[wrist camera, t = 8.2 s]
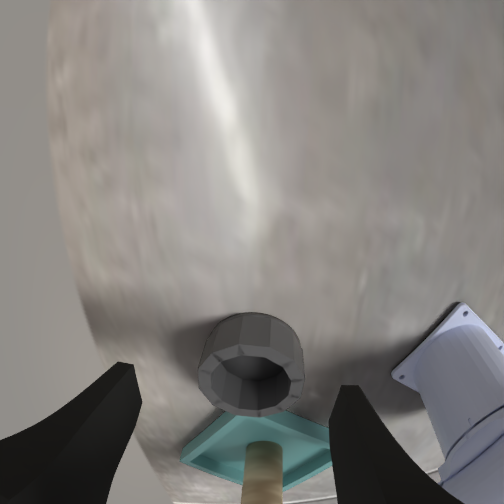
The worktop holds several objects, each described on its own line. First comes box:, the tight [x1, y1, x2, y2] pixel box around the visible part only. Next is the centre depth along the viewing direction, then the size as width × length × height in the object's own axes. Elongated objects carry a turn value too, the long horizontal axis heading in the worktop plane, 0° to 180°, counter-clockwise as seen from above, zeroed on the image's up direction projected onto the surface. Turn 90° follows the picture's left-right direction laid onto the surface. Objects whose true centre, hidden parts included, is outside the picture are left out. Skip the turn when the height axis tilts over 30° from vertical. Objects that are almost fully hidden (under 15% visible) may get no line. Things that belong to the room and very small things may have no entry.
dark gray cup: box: [198, 312, 305, 418], centre depth 21 cm, size 7×7×4 cm
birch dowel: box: [241, 441, 283, 504], centre depth 23 cm, size 4×4×8 cm
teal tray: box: [180, 410, 332, 492], centre depth 26 cm, size 12×12×2 cm
